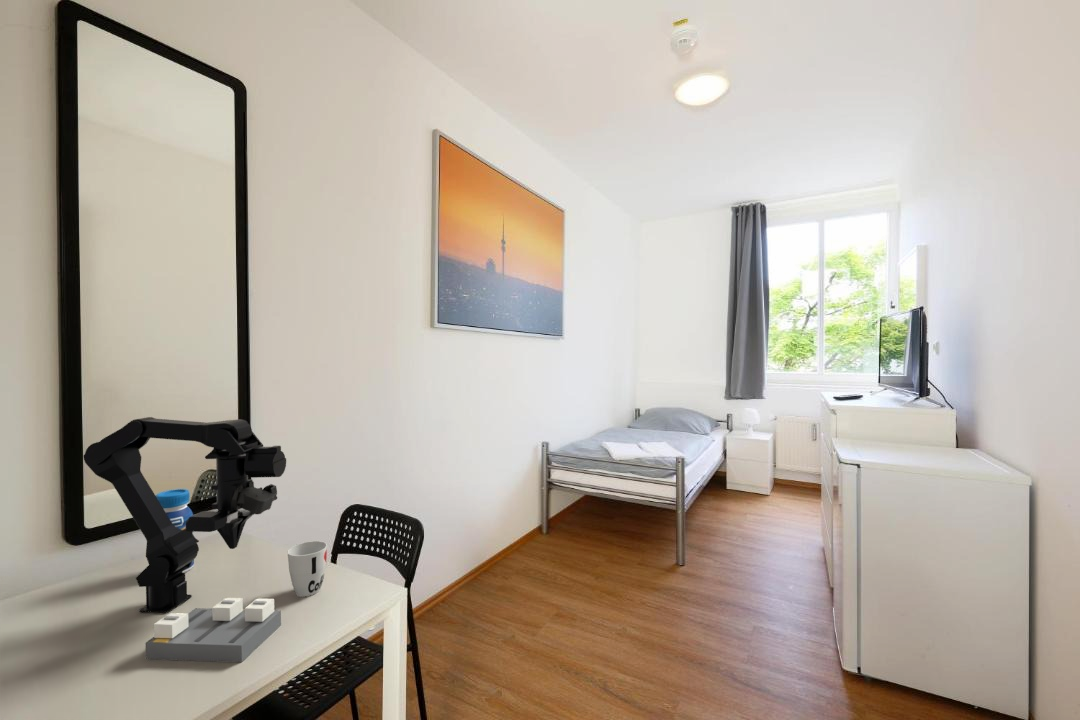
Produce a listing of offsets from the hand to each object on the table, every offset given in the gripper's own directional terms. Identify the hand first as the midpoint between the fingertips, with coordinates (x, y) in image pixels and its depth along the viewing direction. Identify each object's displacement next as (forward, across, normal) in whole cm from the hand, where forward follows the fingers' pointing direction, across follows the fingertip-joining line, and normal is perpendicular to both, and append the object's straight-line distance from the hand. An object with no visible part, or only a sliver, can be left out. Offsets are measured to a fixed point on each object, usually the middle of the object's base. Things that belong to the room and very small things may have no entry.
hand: (233, 548), depth 99 cm
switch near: (+9, -16, -1) cm, 18 cm away
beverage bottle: (+12, +13, +26) cm, 32 cm away
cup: (+12, +5, -14) cm, 19 cm away
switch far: (+9, -10, -14) cm, 19 cm away
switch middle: (+9, -10, -7) cm, 15 cm away
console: (+12, -13, -7) cm, 19 cm away
